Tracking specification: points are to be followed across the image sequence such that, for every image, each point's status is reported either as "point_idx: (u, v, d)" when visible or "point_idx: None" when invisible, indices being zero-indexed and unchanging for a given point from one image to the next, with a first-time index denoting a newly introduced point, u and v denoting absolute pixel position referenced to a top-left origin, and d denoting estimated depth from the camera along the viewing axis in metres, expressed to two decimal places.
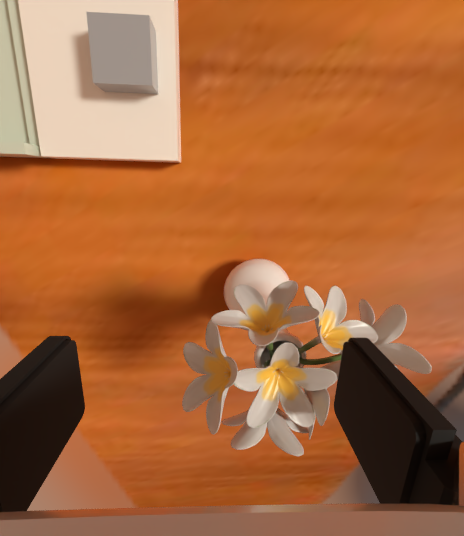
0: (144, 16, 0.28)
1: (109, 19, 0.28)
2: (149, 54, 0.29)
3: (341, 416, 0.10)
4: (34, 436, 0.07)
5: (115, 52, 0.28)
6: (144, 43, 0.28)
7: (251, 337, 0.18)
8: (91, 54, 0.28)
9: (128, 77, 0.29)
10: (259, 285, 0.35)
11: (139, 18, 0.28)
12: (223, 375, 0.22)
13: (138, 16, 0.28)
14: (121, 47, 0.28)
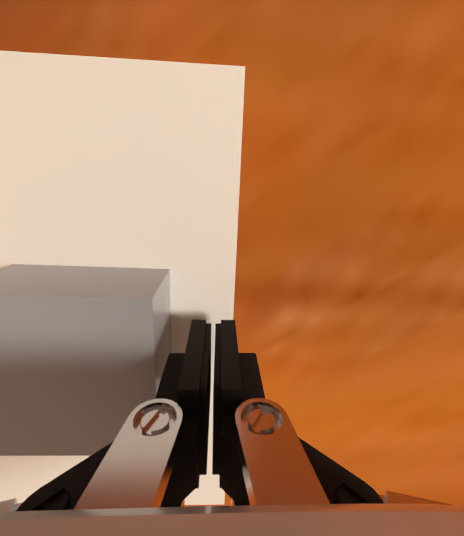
0: (136, 302, 0.08)
1: (20, 312, 0.08)
2: (150, 391, 0.09)
3: None
4: (208, 400, 0.09)
5: (45, 390, 0.09)
6: (137, 366, 0.09)
7: None
8: None
9: (86, 441, 0.10)
10: None
11: (118, 306, 0.08)
12: None
13: (116, 302, 0.08)
14: (63, 377, 0.09)
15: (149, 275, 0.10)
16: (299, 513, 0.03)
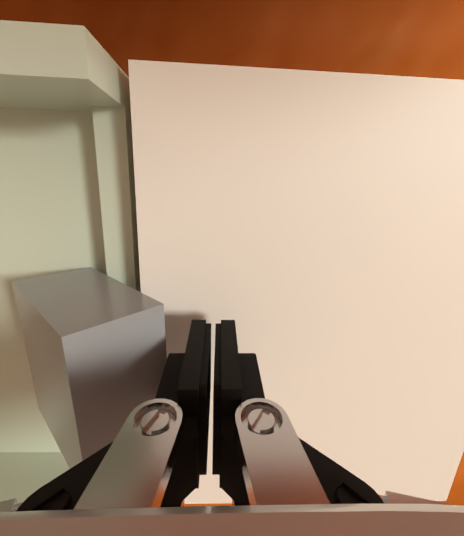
0: (55, 335, 0.07)
1: (27, 311, 0.10)
2: (76, 436, 0.08)
3: None
4: (208, 400, 0.09)
5: (43, 382, 0.10)
6: (67, 403, 0.08)
7: None
8: (28, 360, 0.12)
9: (62, 445, 0.10)
10: None
11: (51, 333, 0.08)
12: None
13: (49, 328, 0.08)
14: (46, 379, 0.10)
15: (129, 306, 0.09)
16: (299, 513, 0.03)
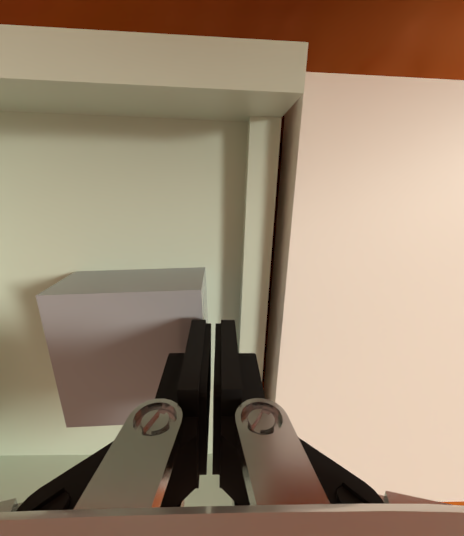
0: (188, 293, 0.10)
1: (98, 307, 0.11)
2: None
3: None
4: (208, 400, 0.09)
5: (117, 369, 0.11)
6: None
7: None
8: (57, 377, 0.11)
9: None
10: None
11: (174, 298, 0.11)
12: None
13: (172, 294, 0.10)
14: (132, 358, 0.11)
15: (191, 273, 0.12)
16: (299, 513, 0.03)
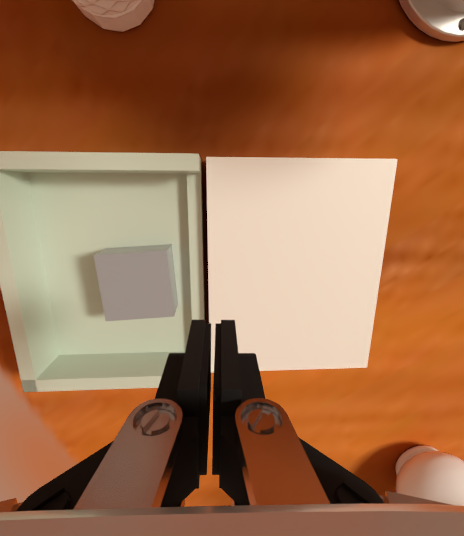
0: (161, 252, 0.24)
1: (121, 259, 0.24)
2: (168, 287, 0.25)
3: None
4: (208, 400, 0.09)
5: (129, 290, 0.24)
6: (163, 277, 0.24)
7: None
8: (102, 294, 0.24)
9: (145, 312, 0.25)
10: None
11: (154, 254, 0.24)
12: None
13: (154, 253, 0.24)
14: (136, 284, 0.24)
15: (164, 246, 0.26)
16: (299, 513, 0.03)
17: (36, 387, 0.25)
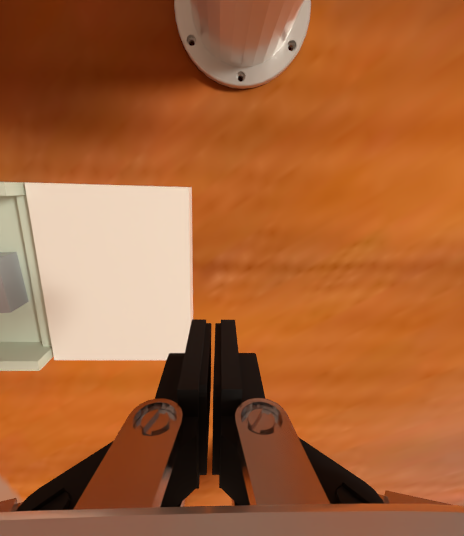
0: None
1: None
2: (2, 288, 0.30)
3: None
4: (208, 400, 0.09)
5: None
6: None
7: None
8: None
9: None
10: None
11: None
12: None
13: None
14: None
15: (5, 253, 0.31)
16: (299, 513, 0.03)
17: None
